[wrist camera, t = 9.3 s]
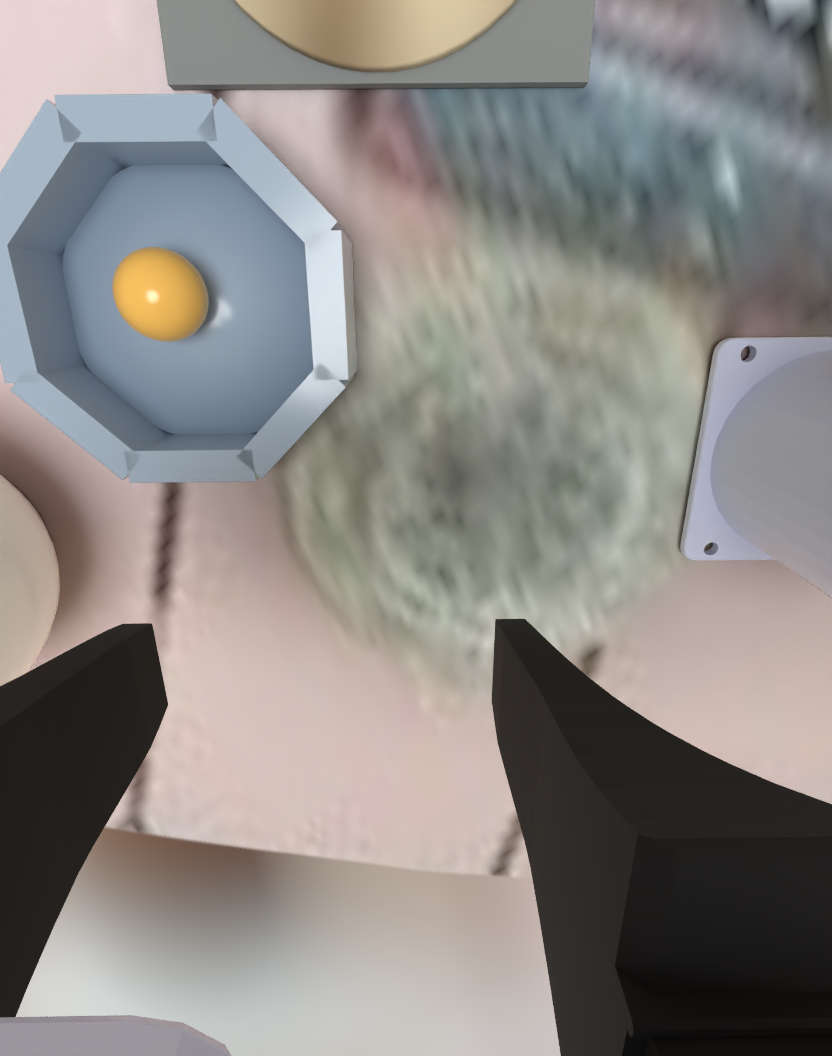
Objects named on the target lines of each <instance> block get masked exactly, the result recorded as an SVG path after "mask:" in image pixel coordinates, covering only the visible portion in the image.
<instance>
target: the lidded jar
mask: <svg viewBox="0 0 832 1056" xmlns="http://www.w3.org/2000/svg"><path fill="white" fill-rule="evenodd" d="M59 592H60V579H59V568H58V560H57V557H56V553H55V549H54V545H53V543H52V541H51V538H50V536H49V534H48V531H47V529H46V527H45V525H44V522H43V520H42V518H41V517H40V515H39V514H38V512H37V510H36V509H35V507H34V506H33V505H32V504H31V502H30V501H29V500H28V499H27V498H26V497H25V496H24V495H23V494H22V493H21V492H20V491H19V490H18V489H17V488H16V487H14V486H13V485H12V484H11V483H10V482H9V481H8V480H7V479H5V478H4V477H3V476H1V475H0V686H2V685H4V684H6V683H8V682H10V681H12V680H14V679H16V678H18V677H20V676H22V675H24V674H26V673H27V672H29V671H30V669H31V667H32V666H33V664H34V662H35V660H36V659H37V657H38V655H39V654H40V652H41V650H42V648H43V646H44V645H45V643H46V641H47V639H48V637H49V635H50V631H51V628H52V625H53V621H54V618H55V615H56V612H57V608H58V602H59Z"/></svg>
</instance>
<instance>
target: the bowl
mask: <svg viewBox="0 0 832 1056" xmlns="http://www.w3.org/2000/svg"><path fill="white" fill-rule="evenodd" d="M54 96H55V102H56V104H54V103H52V102H51V101H49V100H47V99H46V101H45V103H44V104H43V106H42V107H41V109H40V110H39V112H38V114H37V115H36V117H35V118H34V120H33V122H32V123H31V125H30V126H29V128H28V130H27V131H26V133H25V134H24V136H23V137H22V139H21V141H20V142H19V144H18V145H17V147H16V149H15V150H14V152H13V153H12V155H11V156H10V158H9V160H8V161H7V163H6V164H5V166H4V168H3V169H2V171H1V172H0V364H1V368H2V372H3V376H4V379H5V383H15V384H14V386H13V387H12V389H11V390H10V391H12V392H13V393H14V394H15V395H17V396H18V397H19V398H20V399H22V400H23V401H24V402H25V403H27V404H28V405H29V406H30V407H32V408H33V409H34V410H36V411H37V412H38V413H39V414H41V415H42V416H43V417H44V418H46V419H47V420H48V421H49V422H51V423H52V424H53V425H54V426H56V427H57V428H58V429H59V430H61V431H62V432H63V433H64V434H66V435H67V436H68V437H69V438H71V439H72V440H73V441H74V442H76V443H77V444H78V445H79V446H81V447H82V448H83V449H84V450H86V451H87V452H88V453H89V454H91V455H92V456H93V457H94V458H96V459H97V460H98V461H99V462H101V463H102V464H103V465H104V466H106V467H107V468H108V469H109V470H111V471H112V472H113V473H114V474H116V475H117V476H118V477H120V478H121V479H122V480H124V479H126V478H127V477H129V480H130V483H151V482H243V481H256V480H257V479H258V478H259V477H261V478H263V477H264V476H265V475H266V474H267V473H268V471H269V470H270V469H271V468H272V467H273V466H274V465H275V464H276V463H277V462H278V461H279V459H280V458H281V457H282V456H283V455H284V454H285V453H286V452H287V451H288V450H289V449H290V448H291V446H292V445H293V444H294V443H295V442H296V441H297V440H298V439H299V438H300V437H301V436H302V434H303V433H304V432H305V431H306V430H307V429H308V428H309V427H310V426H311V425H312V424H313V422H314V421H315V420H316V419H317V418H318V417H319V416H320V415H321V414H322V413H323V412H324V410H325V409H326V408H327V407H328V406H329V405H330V404H331V403H332V402H333V401H334V400H335V398H336V397H337V396H338V395H339V394H340V393H341V392H342V391H343V390H344V389H345V388H346V386H347V385H348V384H349V383H350V382H351V381H352V379H353V378H354V377H355V376H354V375H353V374H354V373H355V372H356V371H357V348H356V325H355V302H354V279H353V256H352V243H351V241H350V240H349V239H348V236H349V235H348V234H347V233H346V232H345V230H344V229H343V228H342V227H341V225H340V224H339V223H338V222H337V221H336V220H335V218H334V217H333V216H332V215H331V214H330V213H329V212H328V211H327V210H326V209H325V208H324V207H323V206H322V205H321V204H320V203H319V202H318V201H317V199H316V198H315V197H314V196H313V195H312V194H311V193H310V192H309V191H308V190H307V189H306V188H305V187H304V186H303V185H302V184H301V183H300V181H299V180H298V179H297V178H296V177H295V176H294V175H293V174H292V173H291V172H290V171H289V170H288V169H287V168H286V167H285V166H284V165H283V164H282V162H281V161H280V160H279V159H278V158H277V157H276V156H275V155H274V154H273V153H272V152H271V151H270V150H269V149H268V148H267V147H266V146H265V145H264V143H263V142H262V141H261V140H260V139H259V138H258V137H257V136H256V135H255V134H254V133H253V132H252V131H251V130H250V129H249V128H248V127H247V125H246V124H245V123H244V122H243V121H242V120H241V119H240V118H239V117H238V116H237V115H236V114H235V113H234V112H233V111H232V110H231V109H230V108H229V106H228V105H227V104H226V103H225V102H224V101H223V100H222V99H221V98H220V99H219V100H217V99H216V98H215V97H214V96H213V95H212V94H109V95H54Z"/></svg>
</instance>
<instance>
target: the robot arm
mask: <svg viewBox="0 0 832 1056" xmlns="http://www.w3.org/2000/svg"><path fill="white" fill-rule="evenodd" d="M746 346H748V347H749V349H750V354H749V356H748V358H746V359H745V360H742V359H741V355H740V354H741V351H742V349H744V348H745V347H746ZM711 542H713V546H712V548H711V549H709V550H708V551H704V548H705V546H706V545H707V544H708V543H711ZM680 549H681V552H682V554H683V555H684V556H685V557H687V558H688V559H690V560H694V561H709V560H777V561H778V562H780V563H781V564H783V565H784V566H786V567H787V568H788V569H790V570H791V571H793V572H794V573H796V574H797V575H799V576H800V577H802V578H803V579H805V580H806V581H808V582H809V583H811V584H812V585H814V586H815V587H817V588H818V589H819V590H821V591H822V592H824V593H825V594H827V595H828V596H830V597H831V598H832V337H741V338H726V339H724V340H722V341H721V342H719V343H718V345H717V346H716V347H715V350H714V352H713V357H712V363H711V369H710V375H709V381H708V386H707V392H706V398H705V404H704V410H703V416H702V422H701V427H700V433H699V439H698V445H697V451H696V457H695V463H694V469H693V474H692V480H691V486H690V492H689V498H688V504H687V510H686V515H685V521H684V527H683V533H682V539H681V545H680ZM492 705H493V713H494V720H495V727H496V734H497V740H498V745H499V749H500V753H501V757H502V760H503V764H504V768H505V771H506V775H507V779H508V782H509V786H510V790H511V793H512V797H513V801H514V804H515V808H516V811H517V815H518V819H519V822H520V826H521V830H522V833H523V837H524V841H525V845H526V849H527V853H528V858H529V862H530V866H531V872H532V878H533V884H534V889H535V895H536V900H537V907H538V912H539V918H540V924H541V930H542V937H543V943H544V949H545V955H546V961H547V967H548V974H549V980H550V985H551V993H552V999H553V1005H554V1013H555V1019H556V1026H557V1033H558V1039H559V1046H560V1053H561V1056H832V804H829V803H826V802H824V801H821V800H818V799H816V798H813V797H810V796H807V795H805V794H802V793H799V792H796V791H794V790H791V789H788V788H786V787H783V786H780V785H777V784H775V783H772V782H770V781H768V780H765V779H763V778H761V777H758V776H756V775H754V774H752V773H749V772H747V771H745V770H742V769H740V768H738V767H736V766H733V765H731V764H729V763H727V762H725V761H723V760H721V759H719V758H716V757H714V756H712V755H710V754H708V753H706V752H704V751H702V750H700V749H698V748H697V747H695V746H693V745H691V744H689V743H687V742H685V741H684V740H682V739H680V738H678V737H676V736H674V735H672V734H671V733H669V732H667V731H666V730H664V729H662V728H660V727H659V726H657V725H655V724H654V723H652V722H651V721H649V720H647V719H646V718H644V717H643V716H641V715H640V714H638V713H637V712H635V711H634V710H632V709H630V708H629V707H627V706H626V705H624V704H623V703H622V702H620V701H619V700H617V699H616V698H615V697H613V696H612V695H611V694H609V693H608V692H607V691H605V690H604V689H603V688H602V687H600V686H599V685H598V684H596V683H595V682H594V681H592V680H591V679H590V678H589V677H588V676H586V675H585V674H584V673H583V672H582V671H580V670H579V669H578V668H577V667H576V666H574V665H573V664H572V663H571V662H570V661H569V660H568V659H567V658H565V657H564V656H563V655H562V654H561V653H560V652H559V651H558V650H557V649H556V648H555V647H554V646H552V645H551V644H550V643H549V642H548V641H547V640H546V639H545V638H544V637H543V636H542V635H541V634H540V633H539V632H538V631H537V630H536V629H535V628H534V627H533V626H532V625H531V624H530V623H529V622H527V621H526V620H525V619H496V621H495V643H494V664H493V685H492ZM167 706H168V702H167V697H166V692H165V686H164V681H163V676H162V671H161V666H160V661H159V656H158V651H157V646H156V641H155V636H154V631H153V626H152V624H121V625H119V626H116V627H114V628H112V629H109V630H107V631H105V632H103V633H101V634H99V635H97V636H95V637H93V638H91V639H89V640H87V641H85V642H84V643H82V644H80V645H78V646H76V647H74V648H72V649H70V650H69V651H67V652H65V653H63V654H61V655H59V656H57V657H56V658H54V659H52V660H50V661H48V662H46V663H44V664H42V665H41V666H39V667H37V668H35V669H33V670H31V671H29V672H27V673H26V674H24V675H22V676H20V677H18V678H16V679H14V680H12V681H10V682H8V683H6V684H4V685H2V686H0V1056H232V1055H231V1054H230V1052H229V1050H228V1049H227V1047H226V1046H225V1045H224V1044H222V1043H220V1042H219V1041H217V1040H215V1039H213V1038H211V1037H209V1036H207V1035H205V1034H203V1033H201V1032H200V1031H198V1030H196V1029H194V1028H192V1027H190V1026H188V1025H186V1024H184V1023H180V1022H173V1021H166V1020H158V1019H152V1018H145V1017H138V1016H131V1015H126V1016H125V1015H124V1016H66V1017H63V1016H62V1017H16V1014H17V1012H18V1009H19V1007H20V1004H21V1002H22V999H23V996H24V994H25V992H26V989H27V987H28V984H29V982H30V980H31V977H32V975H33V973H34V970H35V968H36V966H37V963H38V961H39V959H40V956H41V954H42V952H43V950H44V947H45V945H46V943H47V940H48V938H49V936H50V934H51V931H52V929H53V927H54V924H55V922H56V920H57V918H58V916H59V914H60V912H61V909H62V907H63V905H64V903H65V901H66V899H67V897H68V894H69V892H70V890H71V888H72V886H73V884H74V881H75V879H76V877H77V875H78V873H79V871H80V869H81V867H82V866H83V864H84V862H85V860H86V858H87V856H88V854H89V852H90V851H91V849H92V847H93V845H94V844H95V842H96V840H97V839H98V837H99V835H100V833H101V832H102V830H103V828H104V827H105V825H106V823H107V822H108V820H109V818H110V817H111V815H112V813H113V811H114V810H115V808H116V806H117V805H118V803H119V801H120V800H121V798H122V796H123V795H124V793H125V791H126V789H127V788H128V786H129V784H130V783H131V781H132V779H133V777H134V776H135V774H136V772H137V771H138V769H139V767H140V765H141V764H142V762H143V760H144V758H145V757H146V755H147V753H148V751H149V749H150V748H151V745H152V743H153V741H154V738H155V736H156V734H157V731H158V729H159V727H160V724H161V721H162V719H163V716H164V714H165V711H166V709H167Z"/></svg>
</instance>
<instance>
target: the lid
mask: <svg viewBox="0 0 832 1056" xmlns="http://www.w3.org/2000/svg"><path fill="white" fill-rule="evenodd" d="M233 1H234V2H235V3H236V4H237V5H238V6H239V7H240V9H241V10H242V11H243V12H244V13H245V14H246V15H247V16H248V17H249V18H251V19H252V20H253V21H254V22H255V23H256V24H257V25H259V26H260V27H261V28H262V29H263V30H264V31H265V32H267V33H268V34H269V35H271V36H272V37H274V38H275V39H277V40H278V41H280V42H281V43H283V44H284V45H286V46H287V47H289V48H290V49H292V50H294V51H296V52H298V53H300V54H302V55H304V56H307V57H309V58H311V59H313V60H315V61H318V62H321V63H324V64H327V65H330V66H334V67H337V68H340V69H346V70H353V71H359V72H395V71H401V70H407V69H413V68H417V67H420V66H423V65H426V64H429V63H432V62H435V61H438V60H441V59H443V58H445V57H447V56H449V55H451V54H453V53H455V52H456V51H458V50H460V49H462V48H464V47H466V46H467V45H468V44H470V43H471V42H473V41H474V40H475V39H477V38H478V37H480V36H481V35H482V34H484V33H485V32H487V31H488V30H489V29H490V28H491V27H492V26H493V25H494V24H495V23H496V22H497V21H498V20H499V19H501V18H502V17H503V16H504V15H505V14H506V13H507V12H508V11H509V10H510V8H511V7H512V6H513V5H514V4H515V2H516V1H517V0H233Z"/></svg>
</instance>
